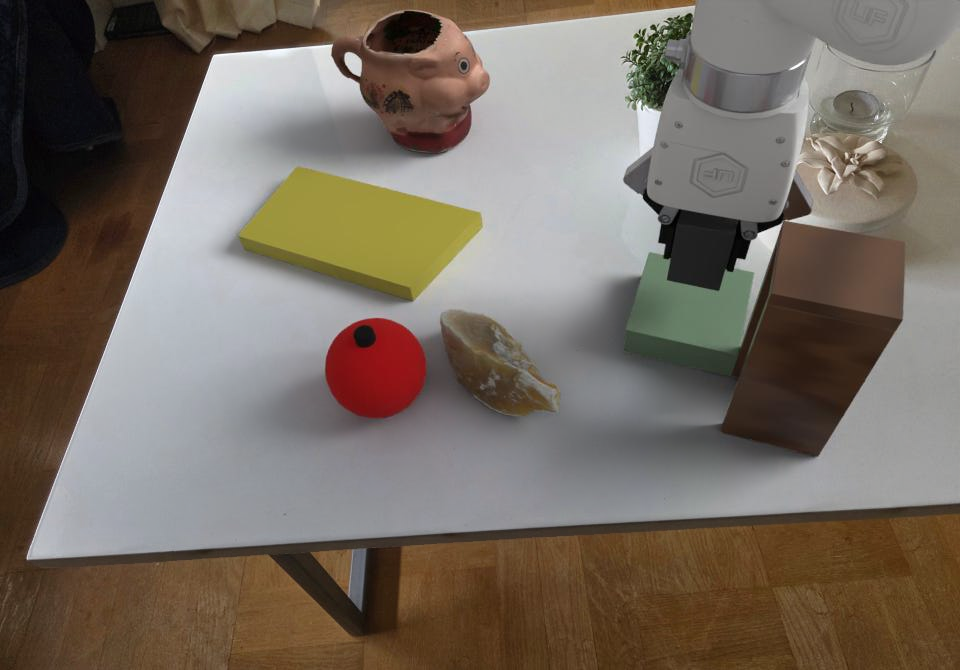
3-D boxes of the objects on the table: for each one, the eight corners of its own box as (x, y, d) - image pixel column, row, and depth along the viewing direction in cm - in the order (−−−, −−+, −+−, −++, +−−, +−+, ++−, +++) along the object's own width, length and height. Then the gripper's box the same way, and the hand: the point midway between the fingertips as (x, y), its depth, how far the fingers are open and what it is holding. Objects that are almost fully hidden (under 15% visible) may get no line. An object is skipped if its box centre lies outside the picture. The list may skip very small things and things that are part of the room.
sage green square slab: (746, 295, 72) (754, 272, 69) (731, 377, 67) (738, 355, 64) (645, 274, 75) (649, 251, 72) (622, 351, 69) (625, 329, 67)
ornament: (444, 362, 70) (429, 297, 62) (417, 444, 65) (397, 384, 57) (357, 349, 72) (332, 283, 64) (324, 427, 67) (292, 367, 59)
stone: (455, 278, 68) (576, 363, 60) (477, 310, 73) (591, 392, 65) (404, 334, 67) (520, 429, 59) (430, 363, 72) (540, 453, 65)
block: (727, 254, 65) (743, 195, 59) (719, 291, 62) (735, 234, 57) (676, 244, 66) (687, 185, 60) (666, 280, 64) (677, 223, 58)
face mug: (328, 153, 91) (296, 52, 80) (364, 93, 98) (339, -7, 86) (482, 172, 86) (470, 67, 75) (508, 108, 93) (501, 4, 82)
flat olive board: (244, 249, 82) (434, 307, 75) (237, 235, 80) (431, 293, 73) (302, 179, 88) (482, 227, 81) (297, 165, 87) (481, 212, 79)
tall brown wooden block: (825, 389, 65) (906, 241, 50) (818, 457, 61) (903, 319, 46) (732, 368, 67) (783, 220, 52) (720, 432, 63) (770, 293, 48)
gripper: (604, 82, 48) (593, 265, 63) (880, 120, 44) (799, 308, 59) (630, 20, 52) (614, 206, 67) (885, 50, 48) (808, 242, 63)
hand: (700, 252), depth 63 cm, fingers closed on block, 4 cm apart
